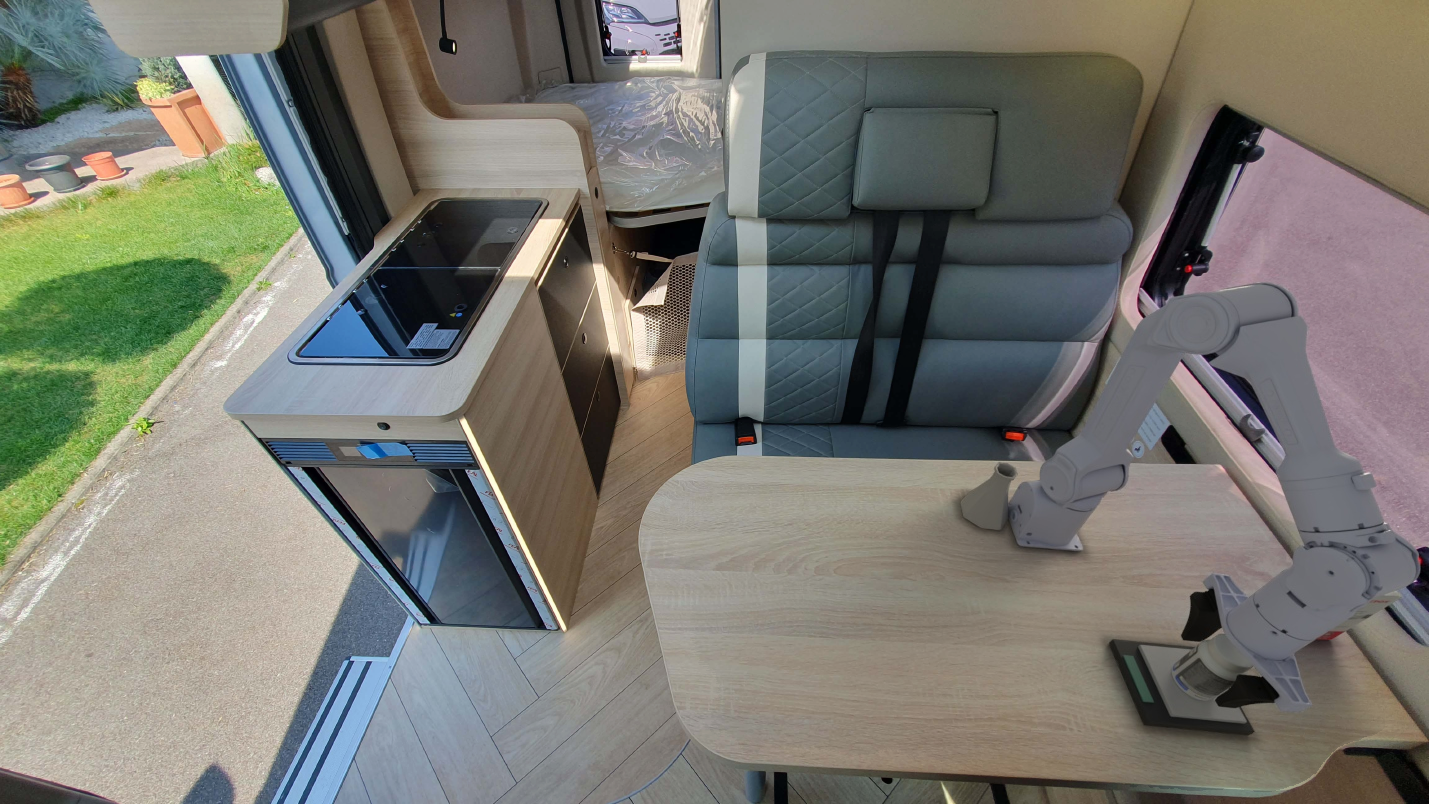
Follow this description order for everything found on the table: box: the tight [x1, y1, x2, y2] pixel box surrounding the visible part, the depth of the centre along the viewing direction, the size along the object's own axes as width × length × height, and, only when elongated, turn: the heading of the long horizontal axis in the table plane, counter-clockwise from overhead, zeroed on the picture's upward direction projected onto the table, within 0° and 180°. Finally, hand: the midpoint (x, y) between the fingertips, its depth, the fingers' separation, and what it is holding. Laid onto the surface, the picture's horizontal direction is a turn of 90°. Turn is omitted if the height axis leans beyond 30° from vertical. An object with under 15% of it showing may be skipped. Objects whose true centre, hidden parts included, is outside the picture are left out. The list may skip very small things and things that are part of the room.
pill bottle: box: [1172, 633, 1254, 701], centre depth 68 cm, size 5×5×8 cm
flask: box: [960, 461, 1019, 531], centre depth 88 cm, size 7×7×10 cm
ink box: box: [1315, 590, 1403, 641], centre depth 74 cm, size 9×5×12 cm, turn 88°
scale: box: [1108, 638, 1256, 736], centre depth 71 cm, size 12×10×2 cm
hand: (1207, 670), depth 68 cm, fingers open, 7 cm apart
